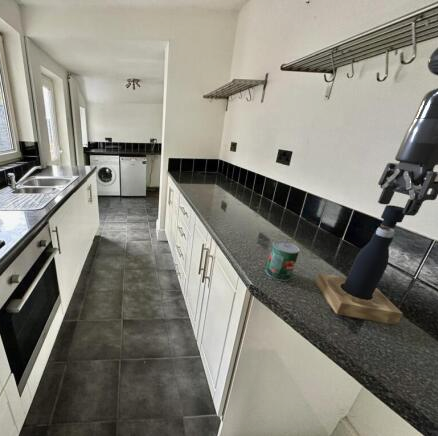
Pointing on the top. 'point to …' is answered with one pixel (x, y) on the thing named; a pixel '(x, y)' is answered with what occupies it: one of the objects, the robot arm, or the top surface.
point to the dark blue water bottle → (373, 257)
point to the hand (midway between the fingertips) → (394, 209)
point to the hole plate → (357, 301)
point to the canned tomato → (282, 260)
